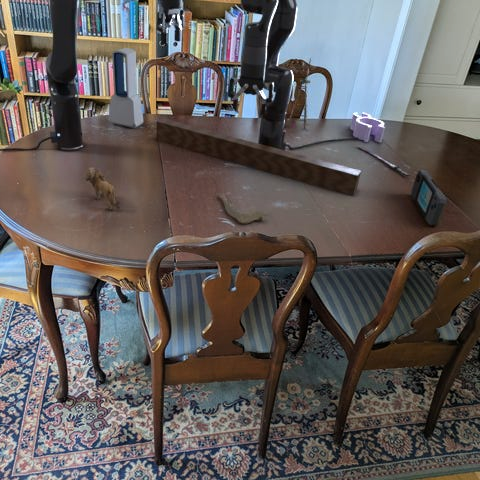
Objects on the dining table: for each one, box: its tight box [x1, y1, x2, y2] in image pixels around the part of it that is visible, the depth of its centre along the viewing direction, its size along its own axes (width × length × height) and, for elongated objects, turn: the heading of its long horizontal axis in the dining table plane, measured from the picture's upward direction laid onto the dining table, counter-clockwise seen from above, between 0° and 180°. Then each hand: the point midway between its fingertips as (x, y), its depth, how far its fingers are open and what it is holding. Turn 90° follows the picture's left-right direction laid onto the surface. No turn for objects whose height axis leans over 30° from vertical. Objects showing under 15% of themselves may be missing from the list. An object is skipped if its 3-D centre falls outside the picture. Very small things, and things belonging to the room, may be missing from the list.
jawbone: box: [218, 193, 271, 225], centre depth 143 cm, size 9×20×2 cm, turn 50°
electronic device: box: [108, 47, 144, 129], centre depth 190 cm, size 12×8×30 cm, turn 71°
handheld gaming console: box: [410, 169, 447, 227], centre depth 153 cm, size 23×3×10 cm, turn 178°
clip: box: [349, 112, 386, 143], centre depth 214 cm, size 20×12×7 cm, turn 11°
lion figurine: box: [82, 167, 121, 211], centre depth 139 cm, size 15×5×9 cm, turn 50°
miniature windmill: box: [286, 57, 312, 130], centre depth 210 cm, size 9×8×30 cm
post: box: [156, 117, 362, 197], centre depth 174 cm, size 81×5×8 cm, turn 64°
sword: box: [357, 146, 410, 177], centre depth 189 cm, size 31×3×1 cm, turn 26°
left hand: (171, 42), depth 168 cm, fingers open, 8 cm apart
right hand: (248, 112), depth 151 cm, fingers open, 8 cm apart
